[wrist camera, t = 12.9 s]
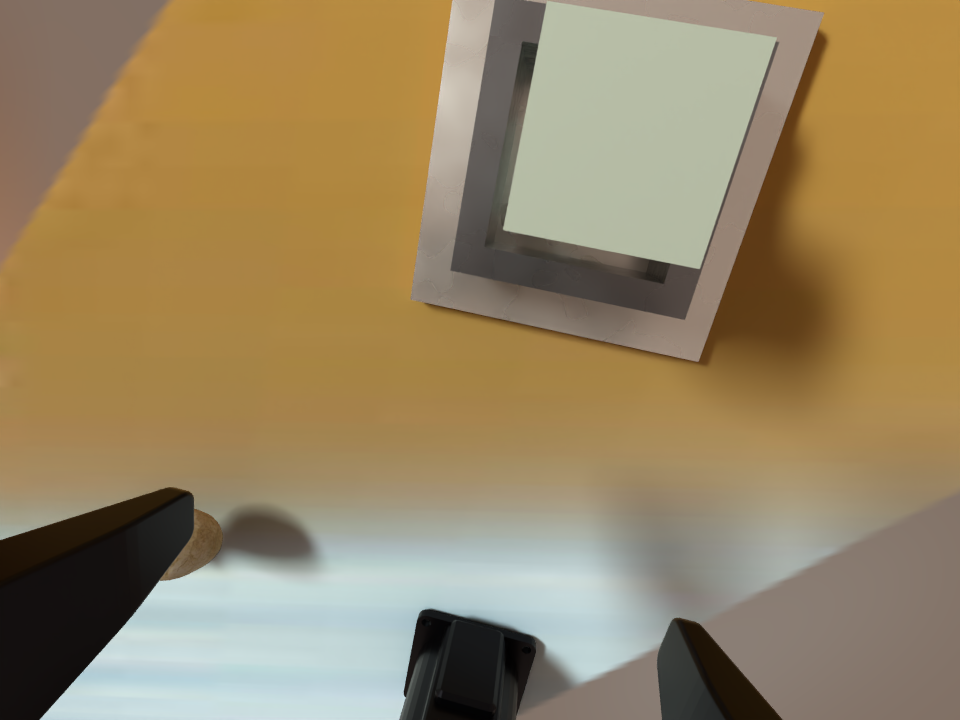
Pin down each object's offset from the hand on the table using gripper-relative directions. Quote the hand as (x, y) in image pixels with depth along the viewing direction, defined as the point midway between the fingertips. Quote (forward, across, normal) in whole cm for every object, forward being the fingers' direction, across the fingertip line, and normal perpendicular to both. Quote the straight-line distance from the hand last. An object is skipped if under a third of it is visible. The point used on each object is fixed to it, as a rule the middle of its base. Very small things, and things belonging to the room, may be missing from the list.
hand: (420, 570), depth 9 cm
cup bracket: (+13, -2, -8) cm, 15 cm away
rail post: (+12, -2, -8) cm, 15 cm away
